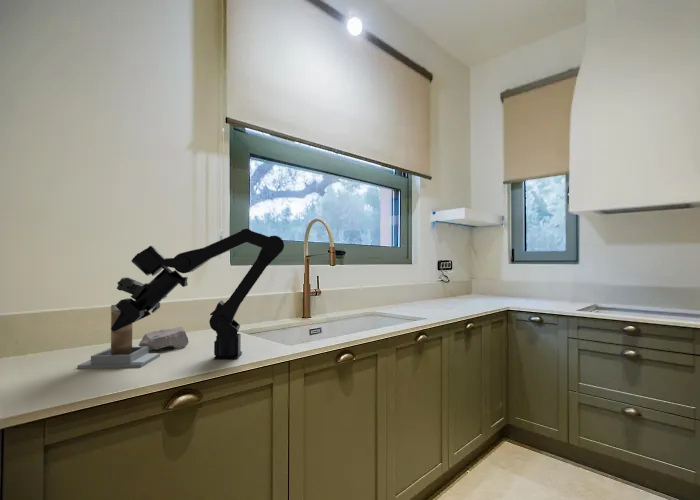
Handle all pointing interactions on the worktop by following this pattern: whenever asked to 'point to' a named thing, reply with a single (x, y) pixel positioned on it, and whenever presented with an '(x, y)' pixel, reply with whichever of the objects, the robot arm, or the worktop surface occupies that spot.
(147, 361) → the cradle
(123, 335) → the round tan cylinder
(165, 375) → the worktop surface
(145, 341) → the stone
